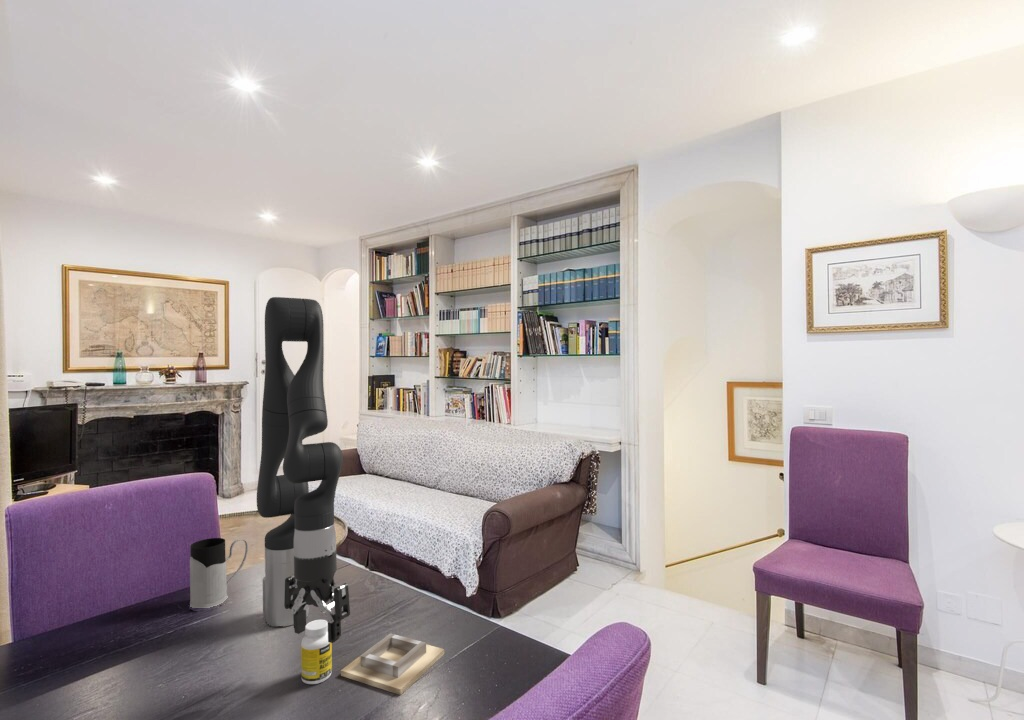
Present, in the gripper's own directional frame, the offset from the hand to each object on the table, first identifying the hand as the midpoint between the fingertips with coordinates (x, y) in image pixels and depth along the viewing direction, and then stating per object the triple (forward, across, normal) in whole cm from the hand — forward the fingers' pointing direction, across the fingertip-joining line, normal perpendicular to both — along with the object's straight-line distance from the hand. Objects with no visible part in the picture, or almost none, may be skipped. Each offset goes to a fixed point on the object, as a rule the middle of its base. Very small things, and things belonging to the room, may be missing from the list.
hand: (317, 636), depth 96 cm
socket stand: (+8, +10, +9) cm, 16 cm away
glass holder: (+7, -48, +14) cm, 51 cm away
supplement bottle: (+8, 0, 0) cm, 8 cm away
